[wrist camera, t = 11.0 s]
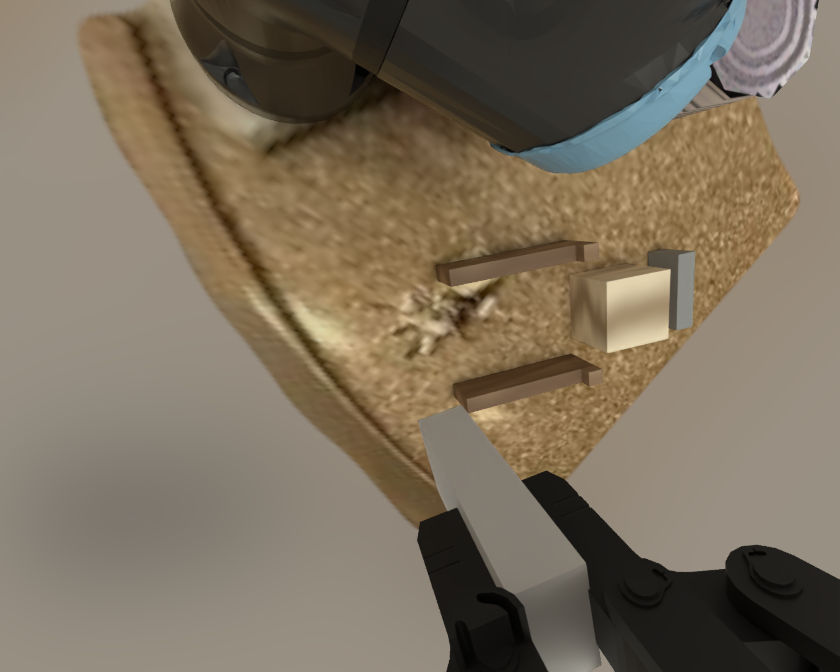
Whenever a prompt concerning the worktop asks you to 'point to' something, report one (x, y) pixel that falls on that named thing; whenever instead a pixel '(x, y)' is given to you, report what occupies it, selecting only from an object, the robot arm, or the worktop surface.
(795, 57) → the can
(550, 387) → the chute
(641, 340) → the block
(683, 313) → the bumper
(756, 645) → the robot arm
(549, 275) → the worktop surface
